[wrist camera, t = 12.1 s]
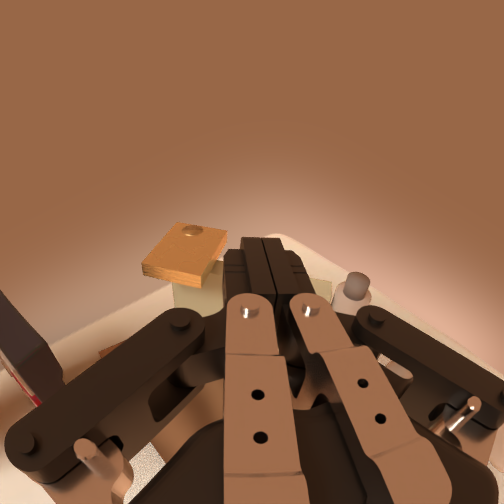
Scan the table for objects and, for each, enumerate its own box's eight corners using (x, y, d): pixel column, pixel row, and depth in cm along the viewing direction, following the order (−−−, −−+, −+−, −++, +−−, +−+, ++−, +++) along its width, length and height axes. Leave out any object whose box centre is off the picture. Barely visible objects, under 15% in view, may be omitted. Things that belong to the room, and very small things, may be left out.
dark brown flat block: (26, 394, 26) (-34, 307, 18) (47, 375, 30) (-4, 284, 21) (79, 451, 23) (8, 374, 14) (103, 426, 26) (46, 341, 18)
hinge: (331, 373, 34) (374, 271, 25) (329, 395, 31) (378, 294, 22) (189, 344, 36) (180, 235, 27) (180, 363, 33) (166, 254, 25)
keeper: (207, 395, 32) (200, 276, 22) (166, 383, 32) (141, 262, 23) (223, 351, 37) (227, 230, 28) (186, 341, 38) (177, 222, 28)
